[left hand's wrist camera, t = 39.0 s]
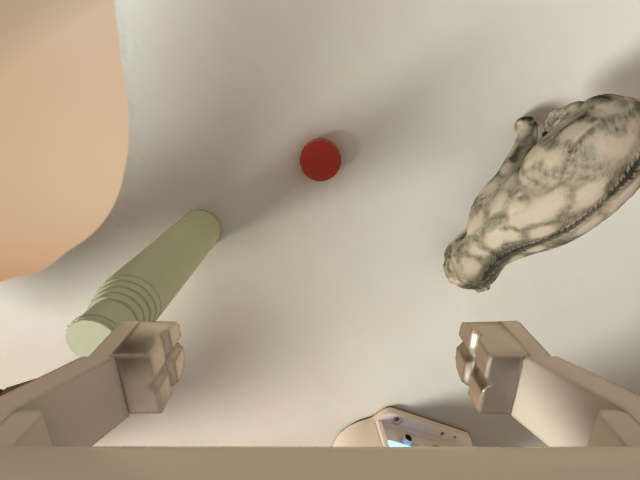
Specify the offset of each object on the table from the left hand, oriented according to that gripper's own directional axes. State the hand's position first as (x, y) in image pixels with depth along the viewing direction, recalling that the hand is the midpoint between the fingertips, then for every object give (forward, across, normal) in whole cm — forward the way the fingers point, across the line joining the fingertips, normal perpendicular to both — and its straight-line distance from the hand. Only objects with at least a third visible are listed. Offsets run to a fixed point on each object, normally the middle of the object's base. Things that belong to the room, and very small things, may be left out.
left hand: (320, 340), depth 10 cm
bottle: (+34, +15, +8) cm, 38 cm away
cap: (+32, 0, -1) cm, 32 cm away
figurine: (+34, -22, +3) cm, 41 cm away
